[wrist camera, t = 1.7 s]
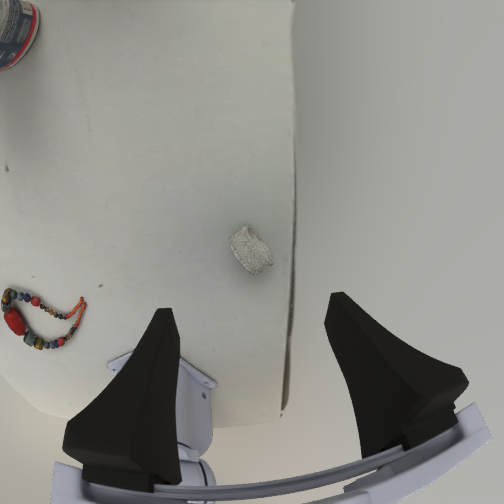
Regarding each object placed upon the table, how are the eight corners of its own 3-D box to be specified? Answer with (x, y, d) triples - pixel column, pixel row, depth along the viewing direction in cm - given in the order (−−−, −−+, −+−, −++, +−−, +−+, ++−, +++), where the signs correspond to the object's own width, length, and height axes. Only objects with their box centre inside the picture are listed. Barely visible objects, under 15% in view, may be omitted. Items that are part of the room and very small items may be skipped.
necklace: (-6, 286, 18) (-14, 300, 16) (76, 270, 19) (69, 286, 18) (31, 341, 22) (27, 355, 20) (110, 335, 24) (108, 351, 22)
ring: (270, 247, 19) (279, 272, 17) (255, 258, 20) (261, 284, 17) (243, 217, 18) (248, 239, 15) (227, 229, 18) (229, 253, 16)
